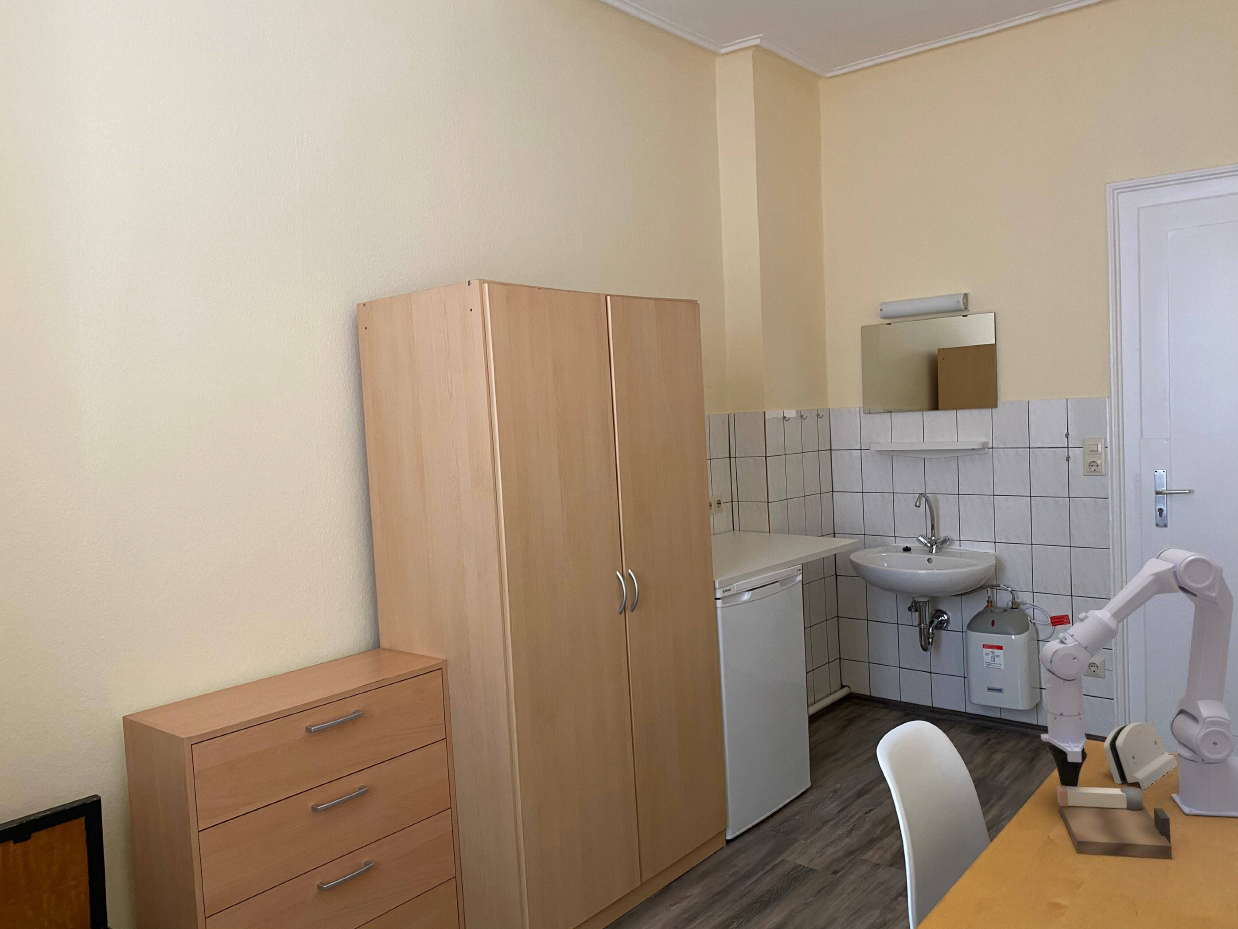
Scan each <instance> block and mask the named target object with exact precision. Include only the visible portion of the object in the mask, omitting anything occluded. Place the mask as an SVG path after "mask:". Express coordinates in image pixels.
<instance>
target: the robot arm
mask: <svg viewBox="0 0 1238 929" xmlns="http://www.w3.org/2000/svg"><path fill="white" fill-rule="evenodd" d="M1223 571H1224V569H1223V567H1222V566H1221V565H1219V563H1217V562H1216V561H1215V560H1213V559H1212V558H1211V557H1209V555H1207V554H1203V553H1199V552H1193V551H1188V550H1185V549H1183V548H1181V547H1176V546H1169V547H1165V548H1163V549H1161V550H1160V551H1159V552H1158V553H1157V554H1156V555H1155V556H1154V557H1152V558H1150V559H1149V560H1148V561H1146V562H1145V564H1144V565H1143V567H1142V568H1141V569H1140V571H1139V572H1138V573H1137V574H1136V575H1135V576H1134V577H1133V578H1132V579H1131V580H1130V581H1129V582H1128V583H1127V584H1126V586H1125V587H1123V588H1122V589H1121V591H1120V590H1119V592H1118V593H1117V594H1116V595H1115V596H1114V597H1113V598H1112V599H1111V600H1110V601H1109V602H1108V603H1107V604H1106V605H1105V606H1104V607H1103V608H1102V609H1096V610H1095V609H1092V610H1091V609H1090V610H1089V611H1087V613H1086V612H1084V611H1083V612H1081V613H1080V614H1079V615H1078V616H1077V618H1078V621H1077V622H1075V623H1074V624H1073V625H1072V626H1071V627H1070V628H1069V629H1068V630H1066V632H1061V633H1060V634H1058V635H1057V638H1058V639H1055V640H1050V641H1049V642H1047V643H1046V644H1044V646H1043V648H1042V652H1041V653H1040V654H1039V655H1038V657H1039V661H1040V663H1041V665H1042V666H1043V668H1045V681H1046V682H1045V691H1046V692H1045V694H1046V696H1045V697H1046V712H1047V714H1046V715H1047V731H1048V732H1047V733H1041V734H1040V739H1041V741H1043V742H1049V743H1050V744H1048V745H1047V748H1048V750H1049V752H1050V754H1051V755H1052V757H1053V760H1054V763H1055V766H1056V769H1057V774H1058V779H1059V782H1060V785H1064V786H1070V787H1078V785H1079V779H1080V773H1081V769H1082V767H1083V765H1084V763H1085V762H1086V760H1087V757H1088V753H1087V752H1086V749H1085V746H1086V744H1087V736H1086V735H1085V734H1086V731H1085V730H1086V729H1085V711H1084V708H1085V707H1084V691H1083V690H1084V689H1083V681H1082V680H1083V679H1082V676H1083V675H1085V674H1086V672H1087V670H1088V666H1089V665H1088V664H1089V661H1090V660H1092V658H1094V657H1095V656H1096V655H1097V654H1099V652H1101V650H1103V649H1104V648H1105V647H1106V646H1107V645H1108V644H1109V643H1110V642H1112V641H1113V640H1114V639H1115V638H1116V637H1118V635H1119V625H1120V624H1121V623H1122V622H1123V621H1125V620H1126V619H1127V618H1128V617H1129V616H1132V615H1133V613H1135V612H1136V611H1138V609H1140V608H1142V607H1143V605H1145V604H1146V603H1147V602H1148V601H1150V600H1151V599H1152V598H1154V597H1155V596H1156V595H1162V594H1163V595H1164V594H1166V595H1167V594H1177V593H1182V594H1183V595H1185V597H1186V598H1188V600H1190V602H1192V603H1193V605H1194V611H1193V612H1194V614H1193V620H1192V621H1193V623H1192V624H1193V625H1192V630H1191V631H1192V634H1191V640H1190V650H1189V652H1190V653H1189V658H1188V670H1187V671H1188V672H1187V679H1186V688H1185V695H1183V697H1182V698H1180V699H1179V700H1178V702H1177V707H1176V711H1175V713H1174V714H1173V716H1172V717H1171V719H1170V722H1169V731H1170V734H1171V736H1172V738H1173V739H1175V740H1176V741H1177V745H1178V746H1177V747H1176V748H1177V749H1176V751H1177V755H1176V756H1177V764H1178V766H1177V772H1178V776H1177V777H1178V793H1172V794H1171V797H1172V799H1173V800H1174V802H1175V803H1176V804H1177V805H1178V807H1179V808H1180V809H1181V811H1182V812H1183V814H1185V815H1192V816H1195V815H1196V816H1211V817H1213V816H1214V817H1216V816H1217V817H1231V818H1232V817H1237V818H1238V756H1235V755H1234V756H1233V755H1231V754H1232V753H1233V752H1234V748H1235V738H1234V736H1233V733H1232V730H1231V718H1230V715H1229V713H1228V711H1227V709H1226V706H1225V704H1224V693H1225V687H1226V686H1225V685H1226V676H1227V666H1228V659H1229V658H1228V657H1229V648H1230V647H1229V646H1230V637H1231V631H1232V630H1231V629H1232V621H1233V620H1232V619H1233V611H1234V597H1233V594H1232V592H1231V590H1230V588H1229V586H1228V584H1227V582H1226V580H1225V578H1224V576H1223V575H1224V574H1223V573H1224V572H1223Z"/></svg>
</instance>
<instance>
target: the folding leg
mask: <svg viewBox="0 0 1238 929" xmlns="http://www.w3.org/2000/svg"><path fill="white" fill-rule="evenodd" d="M1056 793H1057V794H1056V796H1057V803H1058V802H1059V804H1060V806H1086V807H1107V808H1127V809H1132V810H1139V809H1142V808H1143V805H1144V804H1143V803H1144V802H1143V801H1144V800H1143V790H1142V789H1140V788H1137V787H1133V786H1123V787H1121V788H1118V787H1117V788H1115V787H1095V786H1094V787H1092V786H1091V787H1088V786H1087V787H1086V786H1077V787H1070V786H1064V785H1061V784H1059V785H1058V784H1057V785H1056Z"/></svg>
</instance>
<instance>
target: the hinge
mask: <svg viewBox="0 0 1238 929" xmlns="http://www.w3.org/2000/svg"><path fill="white" fill-rule="evenodd" d="M1103 750H1104V753H1105V755H1106V759H1107V761H1108V762H1107V763H1108V765H1109V767H1110V768H1109V769H1110V771H1111V775H1112V777H1113V778H1112V779H1113V780H1114V783H1115V784H1117V783H1118V784H1117V785H1121V784H1123V783H1125V782H1127V783H1128V784H1130V783H1138V785H1140V788H1141V789H1140V790H1144V789H1145V790H1146V789H1147V787H1148V788H1149V787H1150V786H1151V784H1152V783H1153V784H1154V782H1155V781H1156V780H1157V781H1159V780H1161V778H1163V777H1164V776H1166V775H1167V774H1168V773H1169V771H1170V772H1171V771H1172V770H1174V769H1175V768H1177V767H1178V760H1177V759H1176V757H1175V755H1173V754H1172V755H1168V754H1171V753H1169V752H1168V751H1167V749H1166V748H1165V746H1164V743H1163V741H1162V739H1161V738H1160V735H1159V733H1158V732H1157V729H1156V727H1155V726H1154V724H1153V723H1151V722H1142V721H1141V722H1139V721H1138V722H1137V721H1136V722H1132V723H1125V724H1122V725H1121V726H1118V727H1116V728H1114V729H1112V731H1111V732H1110V733H1109V734H1108V736H1107V738H1106V739H1105V741H1104V744H1103ZM1162 753H1164V754H1162ZM1173 768H1174V769H1173ZM1167 772H1168V773H1167ZM1166 773H1167V774H1166ZM1163 775H1164V776H1163ZM1162 776H1163V777H1162ZM1158 779H1159V780H1158ZM1157 781H1156V782H1157ZM1156 782H1155V783H1156ZM1153 784H1152V785H1153Z"/></svg>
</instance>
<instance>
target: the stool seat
mask: <svg viewBox="0 0 1238 929" xmlns="http://www.w3.org/2000/svg"><path fill="white" fill-rule="evenodd" d="M1057 804H1058V812H1059V815H1060V817H1061V819H1062V820H1063V823H1064V825H1065V828H1066V830H1067V832H1068V835H1069V837H1070V839H1071V841H1072V844H1073V845H1074V847H1075V850H1076V852H1077V854H1085V855H1100V856H1114V857H1116V856H1117V857H1133V858H1134V857H1135V858H1152V859H1168V860H1172V859H1173V854H1172V852H1173V851H1172V844H1171V843H1172V842H1171V818H1170V817H1169V816H1168V813H1166V811H1165V810H1164V809H1163V808H1162V807H1153V817H1152V815H1151V813H1150V812H1149V811H1148V809H1147V808H1146V806H1145V805H1144V804H1143V808H1142V809H1139V810H1132V809H1127V808H1107V807H1086V806H1060V804H1059V802H1058V801H1057Z"/></svg>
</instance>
